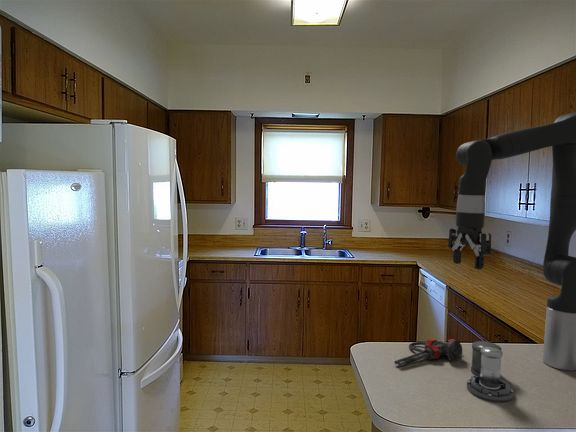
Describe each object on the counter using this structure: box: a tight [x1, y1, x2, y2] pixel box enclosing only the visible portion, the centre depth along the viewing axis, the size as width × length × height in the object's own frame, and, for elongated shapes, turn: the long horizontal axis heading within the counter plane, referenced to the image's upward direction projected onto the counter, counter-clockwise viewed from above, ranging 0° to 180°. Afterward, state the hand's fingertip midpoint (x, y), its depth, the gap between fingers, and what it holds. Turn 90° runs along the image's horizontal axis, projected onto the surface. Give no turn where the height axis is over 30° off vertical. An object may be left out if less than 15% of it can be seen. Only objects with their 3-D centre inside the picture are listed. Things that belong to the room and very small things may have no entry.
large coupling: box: [470, 340, 503, 376], centre depth 118 cm, size 8×8×8 cm
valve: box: [394, 338, 463, 368], centre depth 129 cm, size 6×26×15 cm
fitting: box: [479, 347, 504, 391], centre depth 107 cm, size 5×5×10 cm
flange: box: [466, 375, 514, 403], centre depth 108 cm, size 11×11×2 cm
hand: (467, 266), depth 120 cm, fingers open, 8 cm apart
